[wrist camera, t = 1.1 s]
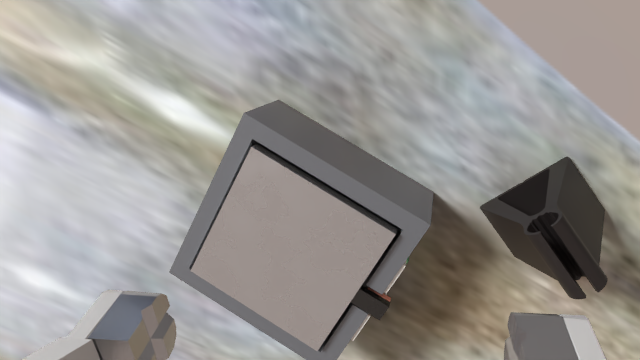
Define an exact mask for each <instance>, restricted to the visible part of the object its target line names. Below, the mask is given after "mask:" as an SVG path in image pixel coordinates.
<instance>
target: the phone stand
mask: <svg viewBox="0 0 640 360" xmlns="http://www.w3.org/2000/svg"><path fill="white" fill-rule="evenodd" d="M480 209H481V210H482V211H483V213H484V214H485V216H486V217H487V218H488V220H489V221H490V223H491V224H492V225H493V227H494V228H495V230H496V231H497V233H498V234H499V235H500V237H501V238H502V240H503V241H504V242H505V244H506V245H507V247H508V248H509V249H510V251H511V252H512V254H513V255H514V256H515V257H516V258H518V259H520V260H522V261H523V262H525V263H527V264H529V265H531V266H532V267H534V268H536V269H538V270H540V271H541V272H543V273H545V274H547V275H549V276H550V277H552V278H554V279H556V280H558V282H559V283H560V284H561V286H562V287H563V289H564V290H565V292H566V293H567V294H568V296H569V297H571V298H573V299H584V298H586V295H585V293H584V292H583V291H582V289H581V288H580V286H579V285H578V283H577V282H576V281H575V280H579V279H580V278H581V276H585V277H587V279H588V280H589V282H590V283H591V285H592V286H593V287H594V289H595V290H596V291H597V292H599V291H601V290H602V289H603V288H604V287H605V285H606V283H607V277H606V275H605V274H604V272H603V271H602V270H601V268H600V267H599V261H600V251H601V241H602V231H603V221H604V211H605V210H604V208H603V207H602V205H601V204H600V202H599V201H598V199H597V198H596V197H595V195H594V194H593V192H592V191H591V189H590V188H589V186H588V185H587V183H586V182H585V180H584V179H583V178H582V176H581V175H580V173H579V172H578V170H577V169H576V167H575V166H574V164H573V163H572V161H571V160H570V158H569V157H565V158H563V159H561V160H560V161H558V162H556V163H554V164H553V165H551V166H549V167H547V168H546V169H544V170H542V171H541V172H539V173H537V174H535V175H534V176H532V177H530V178H528V179H527V180H525V181H524V182H523V183H520V184H518V185H516V186H515V187H513V188H511V189H509V190H508V191H506V192H504V193H502V194H501V195H499V196H497V197H495V198H494V199H492V200H490V201H489V202H487V203H485V204H483V205H482V206H481V207H480Z"/></svg>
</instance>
